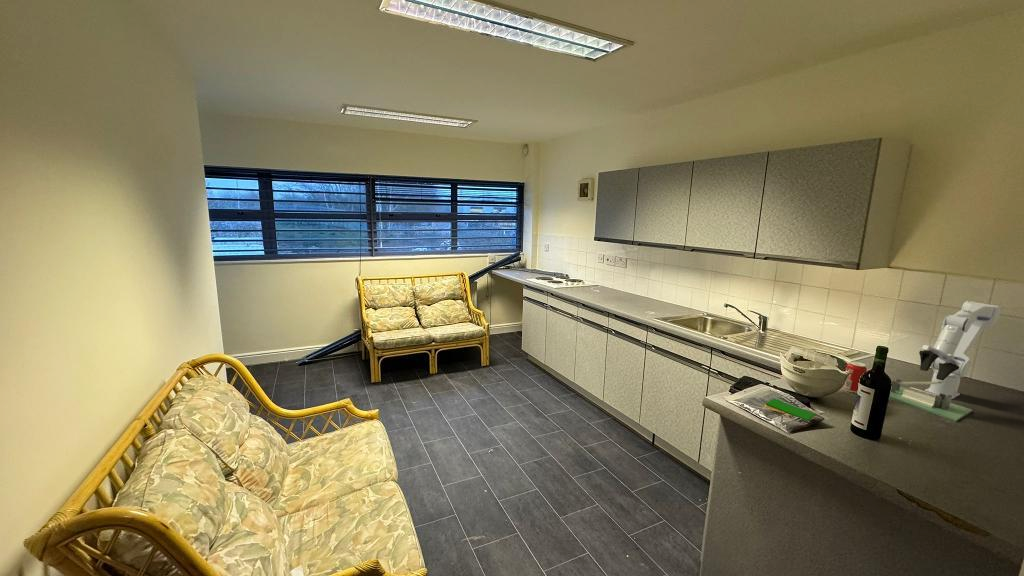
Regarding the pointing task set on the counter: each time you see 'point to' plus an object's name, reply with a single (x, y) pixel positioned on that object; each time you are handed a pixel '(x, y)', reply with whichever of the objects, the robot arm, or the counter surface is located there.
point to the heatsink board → (928, 401)
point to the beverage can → (854, 375)
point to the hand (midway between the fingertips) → (931, 374)
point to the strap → (918, 383)
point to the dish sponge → (789, 409)
